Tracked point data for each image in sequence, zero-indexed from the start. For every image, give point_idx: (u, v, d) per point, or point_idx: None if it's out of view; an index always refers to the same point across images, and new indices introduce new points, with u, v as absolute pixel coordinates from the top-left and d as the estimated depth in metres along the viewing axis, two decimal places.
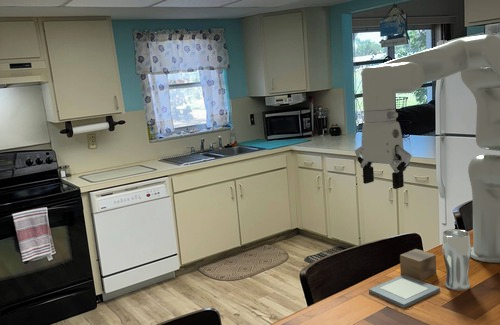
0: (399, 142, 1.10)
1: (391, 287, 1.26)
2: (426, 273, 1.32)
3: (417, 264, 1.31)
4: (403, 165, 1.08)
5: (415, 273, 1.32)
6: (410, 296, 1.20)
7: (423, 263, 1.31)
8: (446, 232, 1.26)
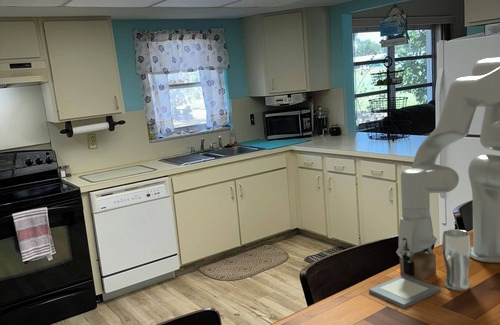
0: None
1: (391, 287, 1.26)
2: (425, 273, 1.32)
3: (417, 264, 1.31)
4: None
5: (415, 273, 1.32)
6: (410, 296, 1.20)
7: (423, 263, 1.31)
8: (446, 232, 1.26)
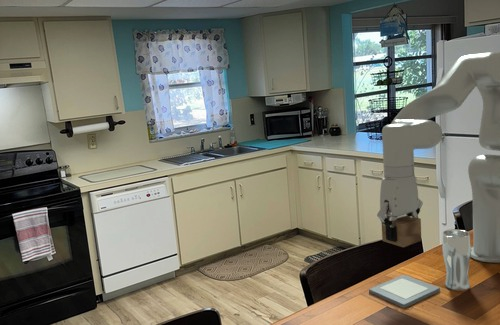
0: None
1: (391, 287, 1.26)
2: (409, 238, 1.20)
3: (400, 228, 1.18)
4: (419, 210, 1.25)
5: (398, 238, 1.20)
6: (410, 296, 1.20)
7: (406, 227, 1.19)
8: (446, 232, 1.26)
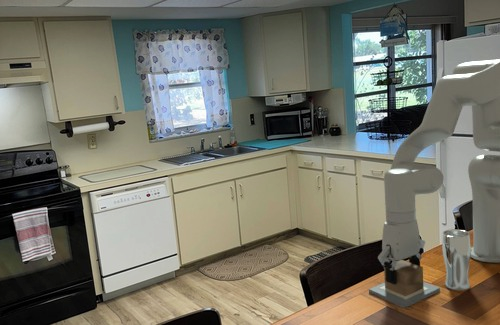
0: None
1: None
2: (411, 287, 1.22)
3: (402, 277, 1.21)
4: (422, 250, 1.27)
5: (400, 287, 1.22)
6: (410, 296, 1.20)
7: (409, 276, 1.21)
8: (446, 232, 1.26)
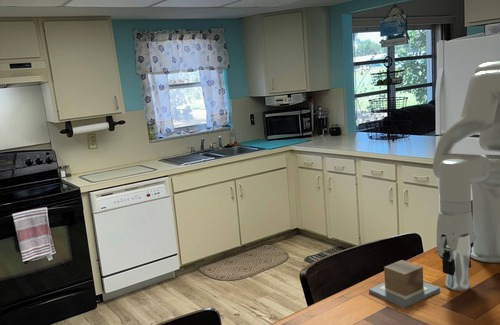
0: None
1: None
2: (411, 287, 1.22)
3: (402, 277, 1.21)
4: None
5: (400, 287, 1.22)
6: (410, 296, 1.20)
7: (409, 276, 1.21)
8: None
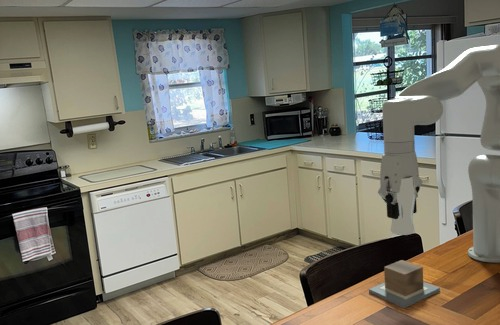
0: None
1: None
2: (411, 287, 1.22)
3: (402, 277, 1.21)
4: (419, 189, 1.23)
5: (400, 287, 1.22)
6: (410, 296, 1.20)
7: (409, 276, 1.21)
8: None
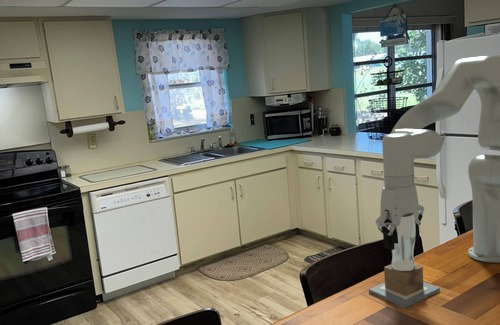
0: None
1: None
2: (411, 287, 1.22)
3: (402, 277, 1.21)
4: (422, 216, 1.25)
5: (400, 287, 1.22)
6: (410, 296, 1.20)
7: (409, 276, 1.21)
8: None
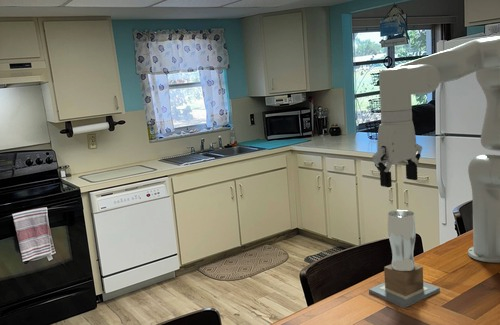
0: None
1: None
2: (411, 287, 1.22)
3: (402, 277, 1.21)
4: None
5: (400, 287, 1.22)
6: (410, 296, 1.20)
7: (409, 276, 1.21)
8: (392, 213, 1.25)
